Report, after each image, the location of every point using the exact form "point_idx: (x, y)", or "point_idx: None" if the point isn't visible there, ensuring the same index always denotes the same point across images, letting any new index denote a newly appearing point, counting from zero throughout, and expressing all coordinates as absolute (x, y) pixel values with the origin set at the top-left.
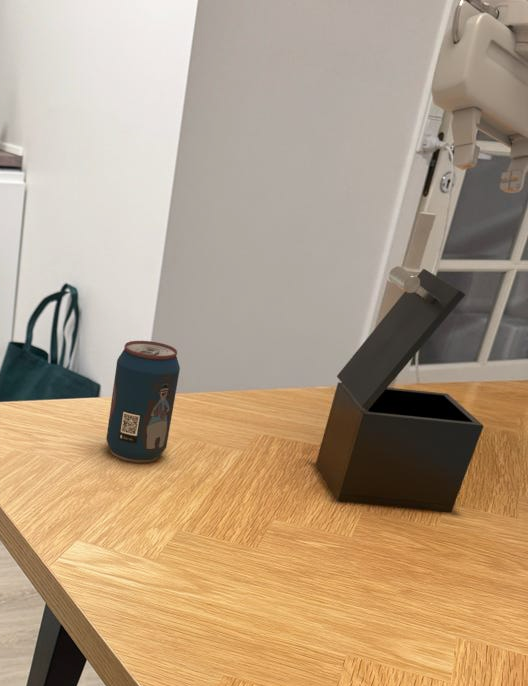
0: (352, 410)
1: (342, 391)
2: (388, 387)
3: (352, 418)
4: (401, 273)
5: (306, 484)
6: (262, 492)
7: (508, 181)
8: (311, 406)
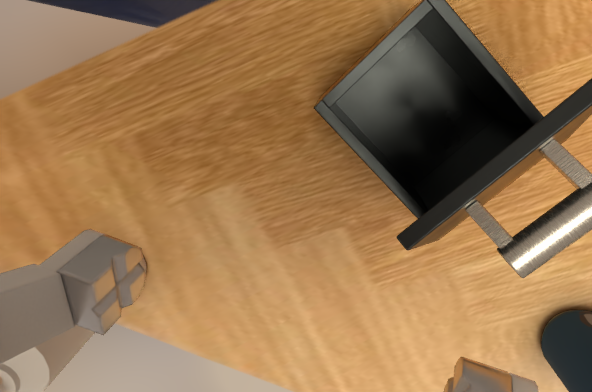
0: None
1: None
2: None
3: None
4: (578, 238)
5: None
6: (556, 186)
7: (121, 284)
8: (217, 302)
